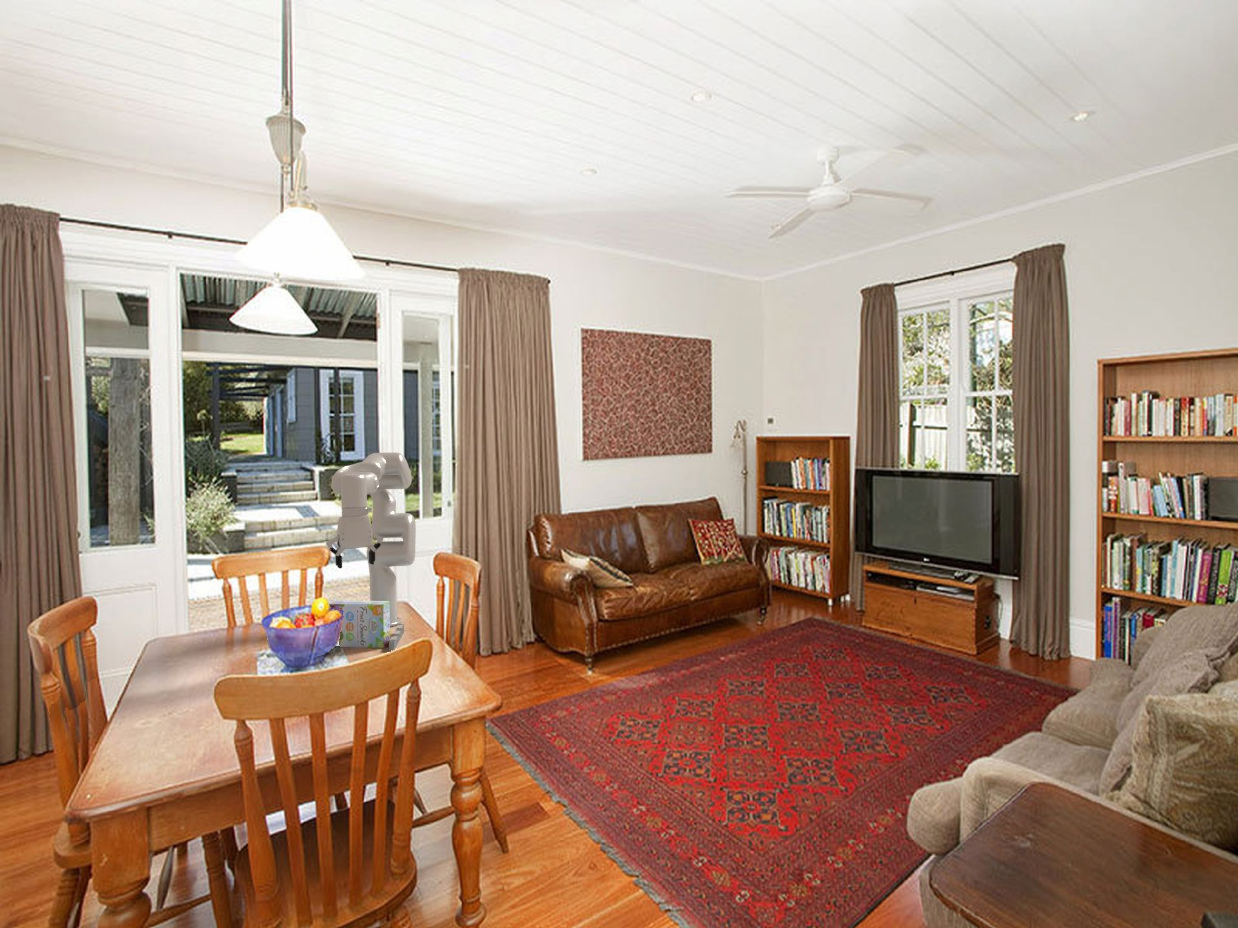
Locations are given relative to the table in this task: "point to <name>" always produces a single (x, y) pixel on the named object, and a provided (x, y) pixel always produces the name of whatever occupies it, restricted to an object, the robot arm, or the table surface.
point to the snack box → (364, 623)
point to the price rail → (396, 637)
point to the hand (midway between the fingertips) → (355, 565)
